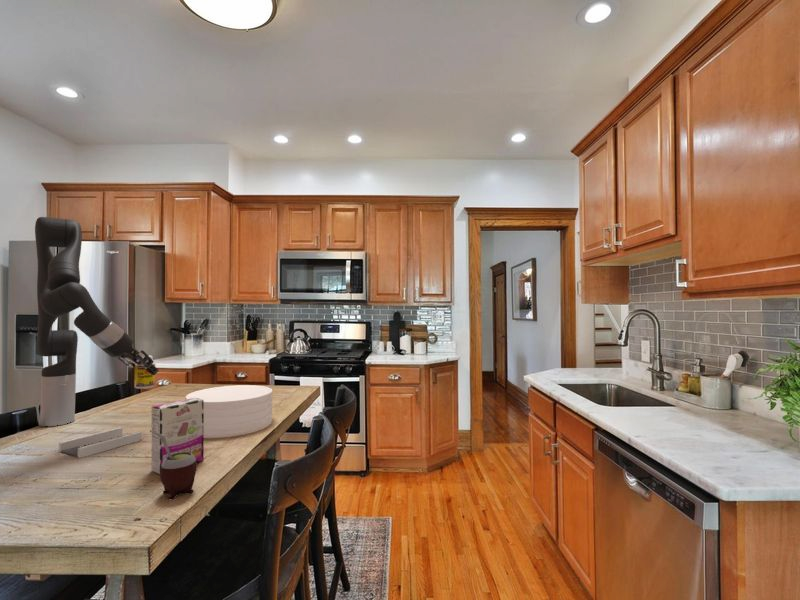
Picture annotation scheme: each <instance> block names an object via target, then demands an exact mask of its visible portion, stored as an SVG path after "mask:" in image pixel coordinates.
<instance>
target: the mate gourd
mask: <svg viewBox="0 0 800 600" xmlns="http://www.w3.org/2000/svg"><path fill="white" fill-rule="evenodd" d="M149 432H150V433H151V434H152V433H154V434H155V435H157V436H159V437H160V438H161V441H162V443H163V444H164V446H165V449H166V451H167V454H168V456H167V457H166V458H165V459H164V461H163V462H162V465H161V468H160V475H159V478H160V481H161V484H162V485H163V489H164V490H163V491H162V493H163V494H164V495H169V497H168V500H169V499H172V500H174V499H175V498H176V497H177V496H178V495H180V494H179V493H188V494H193V493H194V489H193V486H194V483H195V476H196V473H197V468H198V464H197V463H198V462H196V458H195V457H194V455H193V454H192V453H190V452H179V453H174V454H171V453H170V451H169V448H168V446H167V443H166V439H165V437H163V436H162V435H161V434H160V433H157V432H154V431H152V429H151V430H149ZM192 492H193V493H192ZM176 495H177V496H176ZM175 496H176V497H175ZM174 497H175V498H174Z"/></svg>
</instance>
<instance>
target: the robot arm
mask: <svg viewBox="0 0 800 600" xmlns="http://www.w3.org/2000/svg"><path fill="white" fill-rule="evenodd" d="M34 223H35V225H34V236H35V247H36V248H35V249H36V256H37V257H36V258H37V279H36V282H37V283H36V292H37V293H36V294H37V315H38V317H37V321H38V322H37V333H36V334H37V335H36V352H37V353H38V355H39V356H41V357H60V356H61V357H64V358H63V359H62V360H61V361H59V362H57V363H55V364H51V365H49V366H46V367H43V368H42V369H41V376H40V377H41V381H40V383H41V385H40V386H41V387H40V410H39V411H40V412H39V413H40V414H39V416H40V419H39V426H40V427H45V426H48V427H56V426H57V425H58V426H62V425H63V426H64V425H67V423H68V424H70V422H71V423H73V422H75V421H76V420H75V419H76V418H75V417H76V416H75V415H76V414H75V413H76V385H77V384H76V380H77V379H76V378H77V352H78V341H79V337H78V333H77V331H76V330H74V329H59V330H58V329H53V330H51V328H52V327H53V324H54V323H55V322H56V320H57V319H58V318H59V317H62V316H64V315H65V316H66V314H68V313H71V312H73V311H75V310H77V309H79V308H81V310H82V311H81V312H80V313H79V314H78V315H77V316H76V317H75V318H74V320H73V324H74V326H75V327H76V329H78V330H79V331H80V332H82V333H83V334H84V335H85V336H87V338H89V340H91V342H93V343H94V344H95V345H96V346H97V347H99V348H100V349H101V350H102V351H103V352H104V353H106V355H108V356H109V357H111V358H116V359H117V360H119V361H120V362H121V363H123V364H124V365H125V366H127V367H130V368H134V369H135V364H136V365H140V366H142V367H143V368H144V369H146V370H147V371H148V372H149V373H150V374H152V375H155V376H156V375H157V373H158V372H159V369H158V368H157V366H156V365H155V366H154V365H153V364H152V363H153V362H155V361H154V359H153V360H152V359H151V358H150V357H149V356H150V355H148V354H147V352H146V351H144V350H139V349H137V348H135V347H133V344H134V339H133V338H132V336H130V335H129V334H128V333H126V331H125V330H124V329H123V328H121V327H120V326H119V325H118V324H117V323H115V322H113V321H112V320H111V319H110V318H109V317H108V316H106V315H105V313H104V312H102V311H101V310H100V309H99V307H98V305H97V304H96V303H95V301H94V299H93V298H92V296H91V294H90V292H89V290H88V289H87V287H85V286H84V285H83V284H81V274H80V258H81V253H82V252H81V251H82V240H83V232H82V231H83V230H82V226H81V224H80V223H79V221H77V220H73V219H70V218H69V219H68V218H57V217H49V216H40V217H38V218H37V219H36V220H35V222H34ZM53 247H54V248H64V249H63V250H61V251H60V252H58V253H57V254H56V255H53V253H52V251H51V249H50V248H53ZM138 360H139V361H138ZM146 362H147V363H146Z"/></svg>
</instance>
